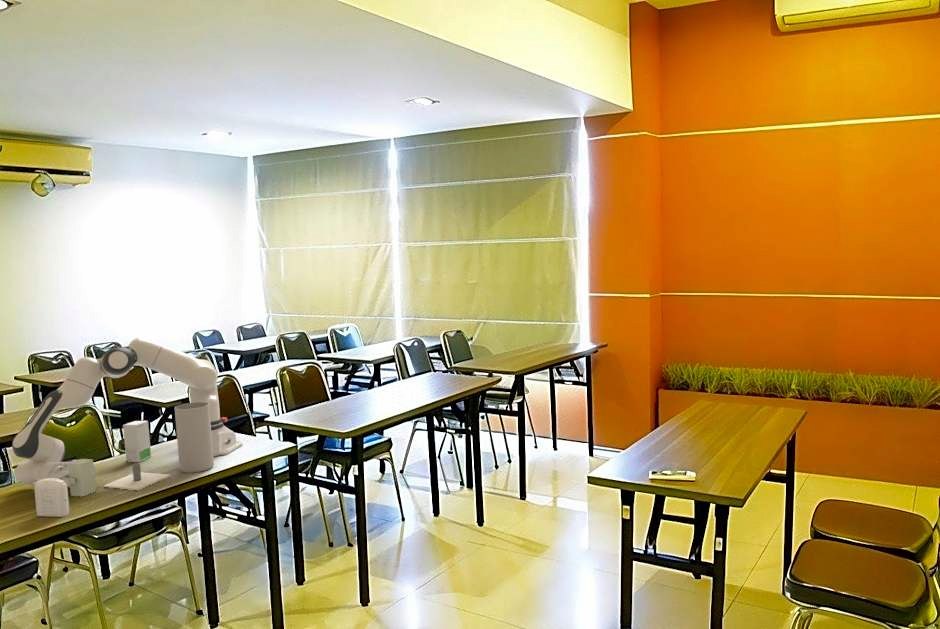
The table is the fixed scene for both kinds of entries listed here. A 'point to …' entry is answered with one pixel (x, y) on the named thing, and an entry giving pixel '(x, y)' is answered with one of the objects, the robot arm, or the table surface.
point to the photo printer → (51, 497)
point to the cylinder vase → (194, 437)
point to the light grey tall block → (82, 477)
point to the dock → (137, 484)
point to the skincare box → (137, 441)
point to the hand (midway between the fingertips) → (83, 477)
